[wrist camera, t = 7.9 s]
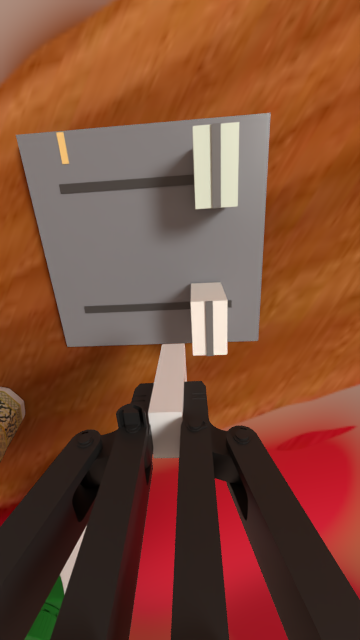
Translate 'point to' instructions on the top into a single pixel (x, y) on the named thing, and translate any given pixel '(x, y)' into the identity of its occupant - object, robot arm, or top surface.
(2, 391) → the ceramic cup
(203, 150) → the fader
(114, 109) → the top surface
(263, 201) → the console
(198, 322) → the block
